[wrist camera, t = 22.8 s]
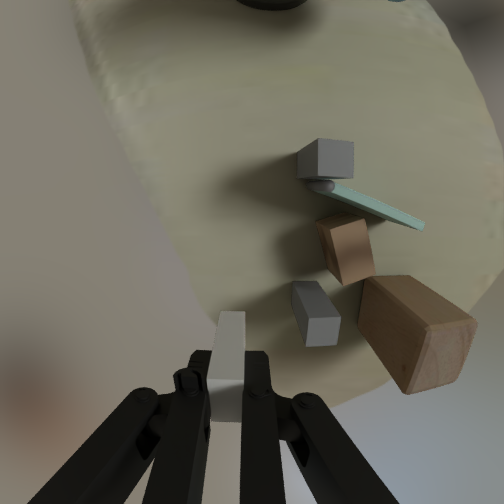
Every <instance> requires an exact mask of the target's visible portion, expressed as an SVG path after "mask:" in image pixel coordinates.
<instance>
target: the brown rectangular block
mask: <svg viewBox="0 0 504 504" xmlns="http://www.w3.org/2000/svg"><path fill="white" fill-rule="evenodd" d="M315 222H316V225H317V229H318V233H319V236H320V240H321V244H322V248H323V252H324V256H325V260H326V264H327V268H328V270H329V271H330V272H331V273H332V274H333V275H334V276H335V277H336V279H337V280H338V281H339V282H340V283H341V284H342V285H343V286H345V285H348V284H351V283H354V282H356V281H359V280H362V279H365V278H367V277H370V276H373V275H375V274H376V273H375V267H374V261H373V256H372V251H371V245H370V241H369V236H368V231H367V226H366V222H365V218H362V217H359V216H356V215H352V214H349V213H346V212H344V213H341V214H337V215H334V216H331V217H328V218H324V219H321V220H318V221H315Z"/></svg>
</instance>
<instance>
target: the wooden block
mask: <svg viewBox="0 0 504 504" xmlns="http://www.w3.org/2000/svg"><path fill="white" fill-rule="evenodd" d="M357 326H358V329H359V330H360V332H361V333H362V335H363V336H364V337H365V339H366V340H367V342H368V343H369V344H370V346H371V347H372V349H373V350H374V352H375V353H376V355H377V356H378V357H379V359H380V360H381V362H382V363H383V365H384V366H385V368H386V369H387V371H388V372H389V373H390V375H391V376H392V378H393V379H394V381H395V382H396V384H397V385H398V387H399V388H400V390H401V391H402V393H404V394H407V395H410V394H414V393H418V392H422V391H426V390H429V389H433V388H436V387H440V386H443V385H446V384H450V383H453V382H454V381H455V380H456V379H457V378H458V376H459V374H460V371H461V369H462V367H463V365H464V362H465V360H466V357H467V355H468V352H469V349H470V347H471V344H472V341H473V338H474V335H475V332H476V329H477V321H476V319H474V318H473V317H471V316H470V315H469V314H467V313H466V312H464V311H463V310H461V309H460V308H459V307H457V306H456V305H454V304H453V303H451V302H450V301H448V300H447V299H445V298H444V297H442V296H441V295H439V294H438V293H436V292H435V291H433V290H432V289H430V288H429V287H427V286H425V285H424V284H422V283H421V282H419V281H418V280H416V279H415V278H413V277H411V276H409V275H406V276H370V277H367V278H365V280H364V287H363V294H362V300H361V306H360V312H359V318H358V323H357Z"/></svg>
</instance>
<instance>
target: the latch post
mask: <svg viewBox="0 0 504 504" xmlns="http://www.w3.org/2000/svg"><path fill="white" fill-rule="evenodd" d="M291 305H292V308H293V311H294V314H295V317H296V319H297V322H298V325H299V328H300V331H301V334H302V337H303V340H304V343H305V346H306V347H312V346H330V345H337V341H338V335H339V329H340V322H341V316H340V314H339V313H338V311H337V310H336V308H335V307H334V305H333V304H332V302H331V301H330V299H329V298H328V296H327V295H326V293H325V292H324V290H323V289H322V287H321V286H320V285H319V283H318V282H317V281H293V285H292V301H291Z"/></svg>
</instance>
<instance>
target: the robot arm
mask: <svg viewBox="0 0 504 504" xmlns="http://www.w3.org/2000/svg"><path fill="white" fill-rule="evenodd" d="M237 1H239V2H241V3H242V4H245V5H247V6H250V7H253V8H257V9H262V10H286V9H291V8H294V7H297V6H299V5H301V4H303V3H304V2H305V1H306V0H237ZM388 1H393V2H401V1H405V0H388ZM173 378H174V383H175V389H176V390H175V392H172V393H169V394H161V395H158V394H157V393H156V392H155V390H153V389H151V388H146V387H143V388H137V389H135V390H133V391H132V392H130V394H129V395H128V396H127V397H126V398H125V399H124V400H123V401H122V402H121V403H120V404H119V405H118V407H117V408H116V409H115V410H114V411H113V412H112V413H111V414H110V415H109V416H108V418H107V419H106V420H105V421H104V422H103V423H102V424H101V425H100V426H99V427H98V428H97V429H96V430H95V431H94V433H93V434H92V435H91V436H90V437H89V438H88V439H87V440H86V441H85V442H84V444H82V445H81V447H80V448H79V449H78V450H77V451H76V452H75V453H74V454H73V455H72V456H71V457H70V458H69V459H68V461H67V462H66V463H65V464H64V465H63V466H62V467H61V468H60V469H59V470H58V471H57V472H56V473H55V475H54V476H53V477H52V478H51V479H50V480H49V481H48V482H47V483H46V484H45V485H44V486H43V487H42V488H41V489H40V491H39V492H38V493H37V494H36V495H35V496H34V497H33V498H32V499H31V500H30V501H29V502H28V503H27V504H124V502H125V501H126V499H127V498H128V496H129V495H130V493H131V492H132V491H133V489H134V488H135V486H136V485H137V483H138V482H139V480H140V479H141V477H142V476H143V474H144V473H145V471H146V470H147V468H148V467H149V465H150V464H151V462H152V461H153V459H154V458H155V459H154V462H153V466H152V469H151V473H150V477H149V480H148V483H147V487H146V490H145V494H144V498H143V501H142V504H201V502H202V494H203V486H204V477H205V469H206V461H207V453H208V446H209V438H210V431H211V429H210V418H211V421H215V422H242V426H241V427H242V428H241V468H240V504H286V500H285V490H284V480H283V471H282V462H281V453H280V444H279V440H284V441H286V443H287V445H288V447H289V449H290V451H291V453H292V455H293V457H294V459H295V461H296V463H297V465H298V467H299V469H300V471H301V473H302V475H303V477H304V479H305V481H306V483H307V485H308V487H309V489H310V491H311V492H312V494H313V496H314V498H315V500H316V502H317V504H399V503H398V501H397V500H396V499H395V497H394V496H393V495H392V493H391V492H390V491H389V490H388V488H387V487H386V486H385V484H384V483H383V482H382V480H381V479H380V478H379V476H378V475H377V474H376V472H375V471H374V470H373V468H372V467H371V466H370V464H369V463H368V462H367V460H366V459H365V458H364V456H363V455H362V454H361V452H360V451H359V450H358V448H357V447H356V445H355V444H354V443H353V441H352V440H351V439H350V437H349V436H348V435H347V433H346V432H345V431H344V429H343V428H342V426H341V425H340V424H339V422H338V421H337V419H336V418H335V417H334V415H333V414H332V413H331V411H330V410H329V408H328V407H327V405H326V404H325V403H324V401H323V400H322V398H320V397H319V396H318V395H316V394H314V393H308V392H305V393H300V394H297V395H295V396H294V397H293V398H292V399H291V398H286V397H282V396H280V395H278V394H276V393H275V392H274V391H273V389H272V386H271V377H270V369H269V359H268V355H267V354H266V353H265V352H264V351H245V311H220V316H219V321H218V325H217V330H216V335H215V340H214V345H213V350H212V351H209V350H196V351H195V352H194V353H193V354H192V355H191V357H190V360H189V363H188V367H187V368H183V369H180V370H178V371H176V372H175V374H174V375H173Z"/></svg>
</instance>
